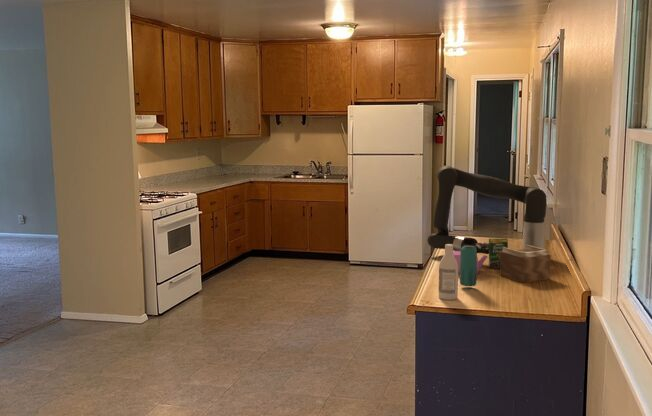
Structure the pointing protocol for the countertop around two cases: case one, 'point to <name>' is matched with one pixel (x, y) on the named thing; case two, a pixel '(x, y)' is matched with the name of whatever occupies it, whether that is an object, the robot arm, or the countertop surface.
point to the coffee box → (496, 251)
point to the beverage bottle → (468, 263)
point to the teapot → (480, 262)
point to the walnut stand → (525, 264)
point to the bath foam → (448, 275)
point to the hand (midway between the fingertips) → (494, 250)
